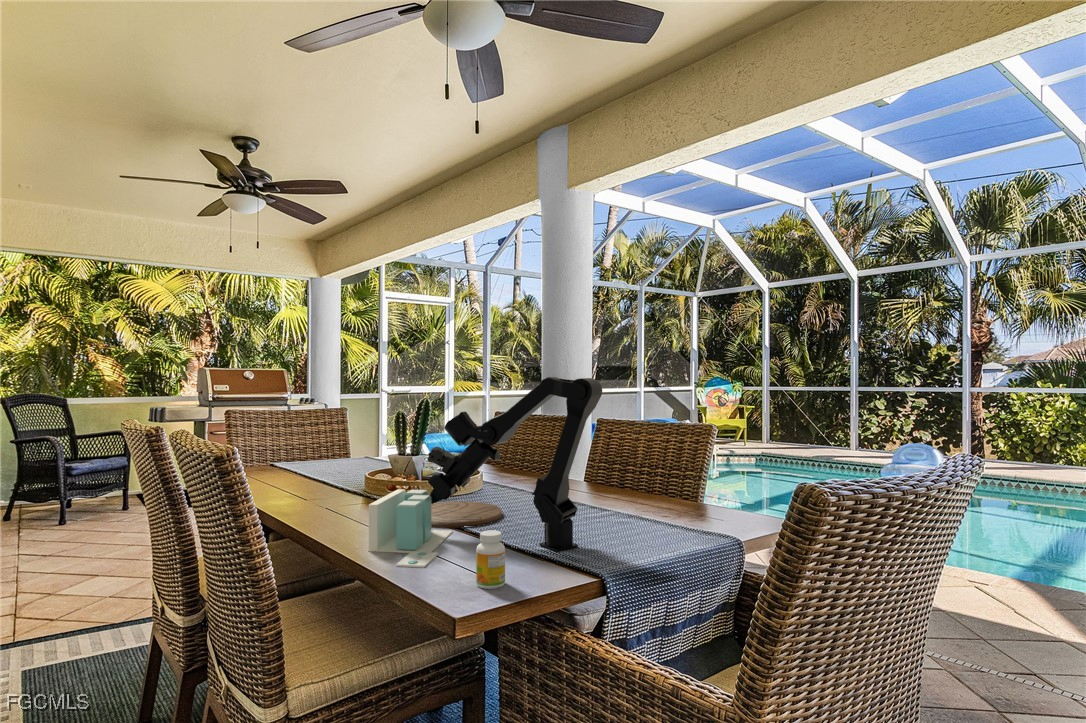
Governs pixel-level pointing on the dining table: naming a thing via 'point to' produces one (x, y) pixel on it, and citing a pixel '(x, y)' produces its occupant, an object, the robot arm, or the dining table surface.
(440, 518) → the trivet
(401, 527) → the teal tall block
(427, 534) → the teal upright block
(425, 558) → the card
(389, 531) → the l-shaped bookend
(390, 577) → the dining table surface
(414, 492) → the teal rectangular block
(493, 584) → the supplement bottle
